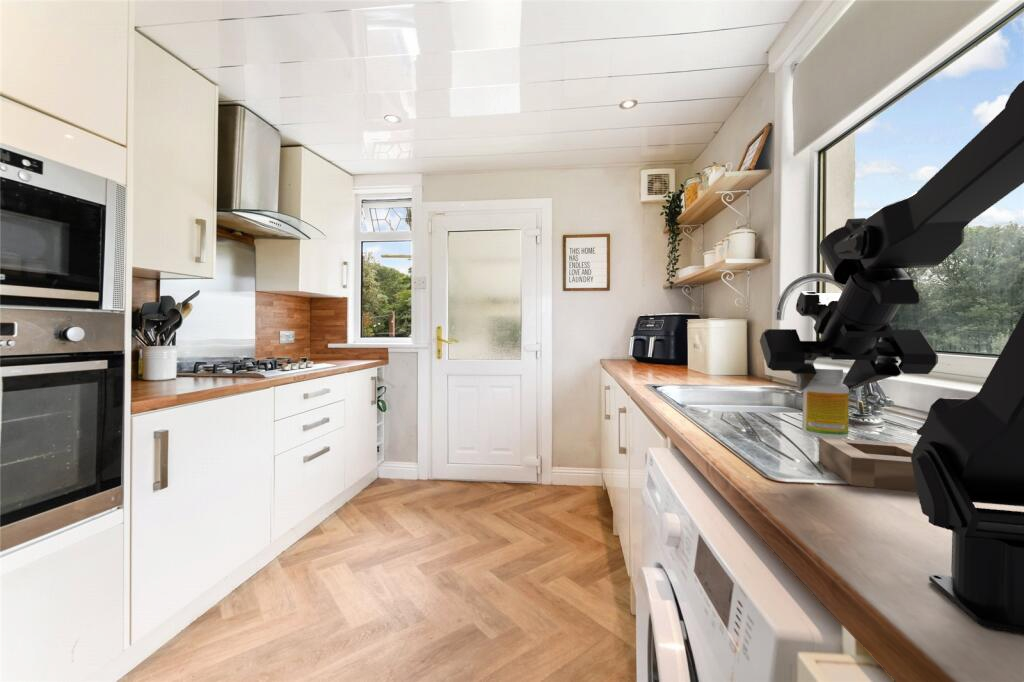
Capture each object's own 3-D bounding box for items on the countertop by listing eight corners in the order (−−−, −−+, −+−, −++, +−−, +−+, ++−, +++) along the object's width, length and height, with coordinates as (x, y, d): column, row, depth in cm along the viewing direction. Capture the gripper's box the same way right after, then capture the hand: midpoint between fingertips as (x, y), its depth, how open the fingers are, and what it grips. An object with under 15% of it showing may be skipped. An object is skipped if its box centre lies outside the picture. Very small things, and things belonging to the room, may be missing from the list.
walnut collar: (958, 495, 57) (959, 465, 57) (851, 485, 60) (851, 457, 60) (906, 468, 68) (907, 443, 68) (818, 461, 72) (819, 437, 72)
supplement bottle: (857, 440, 59) (858, 370, 59) (813, 438, 60) (814, 369, 60) (835, 432, 64) (836, 367, 64) (795, 430, 65) (796, 366, 65)
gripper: (924, 267, 56) (873, 350, 67) (764, 271, 60) (741, 348, 71) (971, 326, 48) (905, 408, 59) (785, 326, 53) (755, 402, 63)
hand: (821, 388), depth 63 cm, fingers closed on supplement bottle, 5 cm apart
